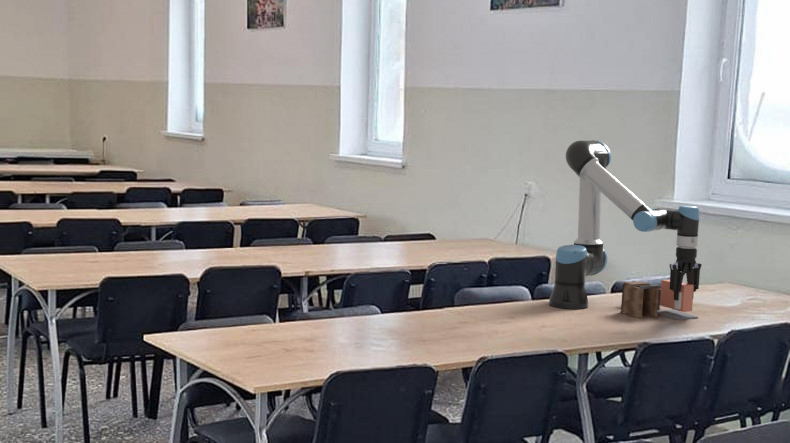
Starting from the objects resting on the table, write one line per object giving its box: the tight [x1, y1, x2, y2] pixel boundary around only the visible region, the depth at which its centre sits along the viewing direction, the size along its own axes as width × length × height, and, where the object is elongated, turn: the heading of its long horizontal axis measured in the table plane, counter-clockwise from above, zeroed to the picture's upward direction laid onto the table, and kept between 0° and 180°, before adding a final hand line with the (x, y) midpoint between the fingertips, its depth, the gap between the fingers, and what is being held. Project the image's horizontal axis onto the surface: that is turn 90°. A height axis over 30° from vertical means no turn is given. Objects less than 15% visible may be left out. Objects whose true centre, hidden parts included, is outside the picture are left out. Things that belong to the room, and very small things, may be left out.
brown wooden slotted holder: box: [620, 280, 660, 319], centre depth 373 cm, size 11×8×12 cm
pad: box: [657, 309, 699, 321], centre depth 374 cm, size 14×10×1 cm
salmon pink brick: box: [660, 278, 694, 313], centre depth 373 cm, size 13×4×10 cm, turn 24°
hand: (682, 308), depth 370 cm, fingers closed on salmon pink brick, 4 cm apart
